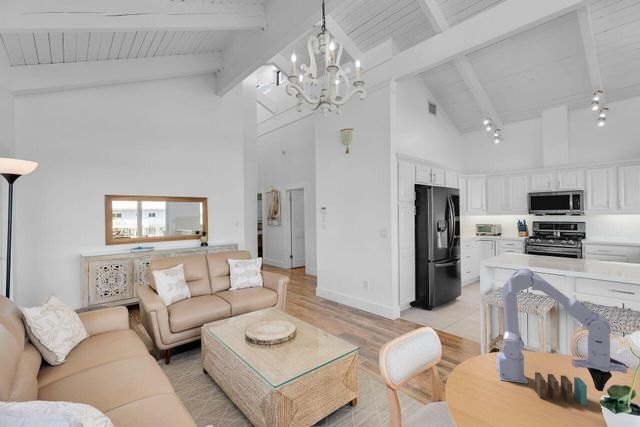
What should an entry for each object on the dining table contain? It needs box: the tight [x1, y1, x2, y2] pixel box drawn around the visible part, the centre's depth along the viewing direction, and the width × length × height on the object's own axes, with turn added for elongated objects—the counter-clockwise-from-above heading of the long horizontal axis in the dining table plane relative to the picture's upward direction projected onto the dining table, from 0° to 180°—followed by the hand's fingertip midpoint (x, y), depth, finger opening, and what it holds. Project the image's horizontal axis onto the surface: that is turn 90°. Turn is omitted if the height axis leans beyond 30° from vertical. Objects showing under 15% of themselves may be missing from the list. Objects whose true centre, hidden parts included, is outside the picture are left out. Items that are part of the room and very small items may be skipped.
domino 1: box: [534, 371, 546, 400], centre depth 110 cm, size 2×5×7 cm, turn 161°
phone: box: [610, 357, 627, 368], centre depth 128 cm, size 8×1×15 cm
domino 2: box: [547, 373, 560, 402], centre depth 109 cm, size 2×5×7 cm, turn 161°
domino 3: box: [560, 375, 574, 405], centre depth 108 cm, size 2×5×7 cm, turn 161°
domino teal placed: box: [573, 376, 588, 406], centre depth 106 cm, size 2×5×7 cm, turn 161°
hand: (598, 389), depth 105 cm, fingers closed
